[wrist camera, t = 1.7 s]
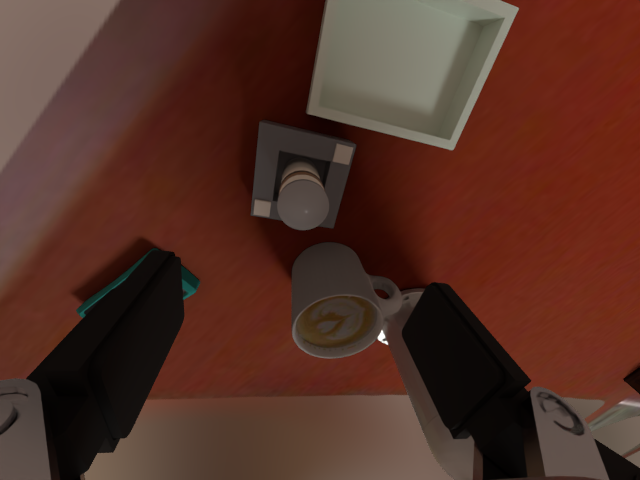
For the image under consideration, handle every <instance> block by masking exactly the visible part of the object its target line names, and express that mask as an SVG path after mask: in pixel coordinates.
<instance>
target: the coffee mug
mask: <svg viewBox="0 0 640 480" xmlns="http://www.w3.org/2000/svg"><path fill="white" fill-rule="evenodd" d="M374 289H381V290H384V291H385V292H386V293H387V294H388V295H389V296H390V299H382V298H380V297H378V296H377V294H376V293H375V291H374ZM401 306H402V295H401V292H400V290H399V288H398V287H397V286H396V284H395V283H394V282H392V281H391V280H390V279H388V278H385V277H382V276H372V275H368V274H367V273H365V271H364V269H363V266H362V264H361V262H360V260H359V257H358V256H357V254H356V253H355V252H354V251H353V250H352V249H351V248H349V247H347V246H345V245H343V244H340V243H335V242H325V243H319V244H316V245H313V246H311V247H309V248H307V249H306V250H304V251H303V252H302V253H301V254H300V255H299V256H298V257H297V258H296V260H295V262H294V264H293V267H292V336H293V339H294V341H295V343H296V344H297V345H298V347H299V348H300V349H302V350H303V351H305V352H306V353H308V354H310V355H313V356H316V357H321V358H341V357H346V356H350V355H353V354H356V353H358V352H360V351H362V350H364V349H366V348H367V347H368V346H370V345H371V344H372V343H373V342H374V341H375V340H376V339H377V338H378V336H379V335H380V333H381V331H382V329H383V324H384V317H383V316H386V315H392V314H394V313H396V312H398V311H399V309H400V308H401Z"/></svg>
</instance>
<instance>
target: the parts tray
mask: <svg viewBox="0 0 640 480" xmlns="http://www.w3.org/2000/svg"><path fill="white" fill-rule="evenodd" d="M518 9H519V8H518V7H515V6H513V5H510V4H508V3H505V2H503V1H501V0H325V6H324V11H323V17H322V23H321V29H320V34H319V40H318V46H317V52H316V57H315V63H314V69H313V75H312V80H311V86H310V92H309V98H308V103H307V109H306V113H307V114H310V115H314V116H318V117H322V118H326V119H330V120H334V121H338V122H342V123H346V124H350V125H354V126H358V127H362V128H365V129H369V130H373V131H377V132H381V133H385V134H389V135H393V136H397V137H401V138H405V139H409V140H413V141H417V142H421V143H425V144H429V145H433V146H437V147H441V148H445V149H449V150H454V147H455V145H456V143H457V141H458V139H459V137H460V135H461V132H462V130H463V128H464V126H465V124H466V122H467V119H468V117H469V115H470V113H471V111H472V109H473V106H474V104H475V102H476V100H477V98H478V96H479V94H480V91H481V89H482V87H483V85H484V83H485V81H486V78H487V76H488V74H489V72H490V70H491V68H492V65H493V63H494V61H495V59H496V57H497V55H498V53H499V50H500V48H501V46H502V44H503V42H504V40H505V37H506V35H507V33H508V31H509V29H510V27H511V24H512V22H513V20H514V18H515V16H516V14H517V11H518Z"/></svg>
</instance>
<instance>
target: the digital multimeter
mask: <svg viewBox="0 0 640 480" xmlns="http://www.w3.org/2000/svg"><path fill="white" fill-rule="evenodd" d="M152 250H158V249H156V248H153V249H151V250H150V251H149V252H148V253H147V254H146V255H144V256H143V257H142V258H141V259H140V260H139V261H138V262H136V263H135V264H134V265H133V266H132V267H131V268H129V269H128V270H127V271H126V272H124V273H123V274H122V275H121V276H119V277H118V278H117V279H116V280H114V281H113V282H112V283H110V284H109V285H107V286H106V287H105V288H103V289H102V290H101V291H99V292H98V293H96V294H95V295H93V296H92V297H90V298H89V299H87V300H86V301H85V302H84V303H83V304H82V305H81V306H80V307H79V308H78V309H77V310H76V311H77V313H78V314H79V315H80V316H81V317H82V318H84V317H85V316H86V315H87V314H88V313H89V311H90V310H91V309H92V308H93V307H94V306H95V305H96V304H97V303H98V302H99V301H100V300H101V299H102V298H103V297H104V296H105V295H106V293H108V292H109V291H110V290H111V289H114V288H118V287H119V286H120V285H121V284H122V283H123V282H124V280H125V279H126V278H127V277H128V276H129V275H130V274H131V273H132V272H133V271H134V269H135V268H136V267H137V266H138V265H139V264H140V263H141V262H142V261H143V260H144V258H145V257H146V256H147V255H148V254H149V253H150V252H151V251H152ZM181 272H182V287H183V300H184V299H186V298H187V297H189V296H191V295H192V294H194V293H195V292H196V290H197V288H198V286H199V284H200V281H199V280H198V279H197V278H196V277H195V276H194V275H193V274H191V273H190V272H189V271H188V270H187V269H186V268H184V267H183V266H182V265H181ZM120 283H121V284H120ZM94 303H95V304H94Z"/></svg>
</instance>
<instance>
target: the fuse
mask: <svg viewBox="0 0 640 480" xmlns="http://www.w3.org/2000/svg"><path fill="white" fill-rule="evenodd" d="M277 210H278V214H279V216H280V218H281V219H282V221H283V222H284V223H285V224H286V225H288V226H289V227H291V228H294V229H297V230H309V229H313V228H315V227H317V226H318V225H320V224H321V223H322V222H323V221H324V220H325V218H326V216H327V214H328V211H329V201H328V197H327V195H326V192H325V189H324V186H323V184H322V182H321V180H320V177H319V174H318V170H317V168H316V166H315V164H314V163H313V162H312V161H311V160H309V159H308V158H305V157H294V158H292V159H290V160H289V161H288V162H287V163H286V164H285V165H284V167H283V170H282V180H281V185H280V189H279V197H278V202H277Z"/></svg>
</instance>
